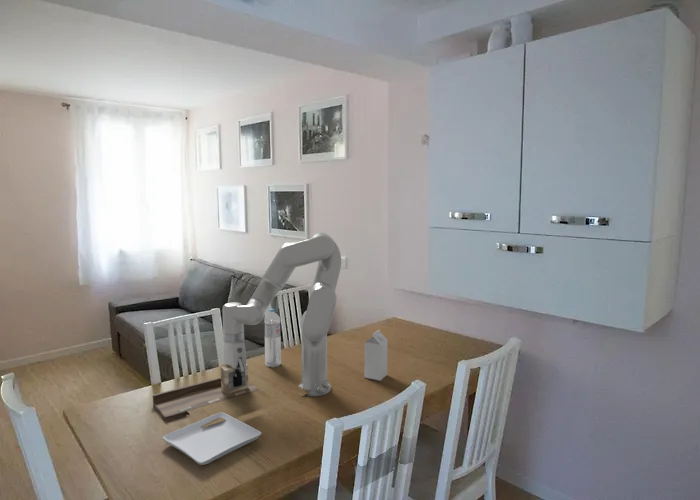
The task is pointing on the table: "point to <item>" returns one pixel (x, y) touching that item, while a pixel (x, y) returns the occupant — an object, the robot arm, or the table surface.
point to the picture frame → (227, 379)
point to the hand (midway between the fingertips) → (234, 383)
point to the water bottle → (272, 340)
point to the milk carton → (376, 357)
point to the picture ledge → (193, 398)
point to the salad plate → (211, 438)
